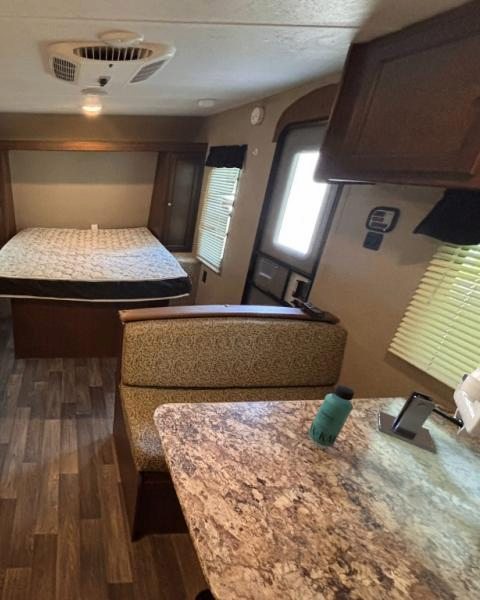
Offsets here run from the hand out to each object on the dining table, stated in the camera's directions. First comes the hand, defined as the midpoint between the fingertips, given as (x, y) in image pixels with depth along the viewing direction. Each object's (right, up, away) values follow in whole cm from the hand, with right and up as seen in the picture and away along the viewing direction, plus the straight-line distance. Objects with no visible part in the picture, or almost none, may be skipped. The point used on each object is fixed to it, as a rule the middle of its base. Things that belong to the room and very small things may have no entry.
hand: (458, 428), depth 91 cm
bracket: (-7, -4, +8) cm, 12 cm away
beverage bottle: (-38, -5, +3) cm, 39 cm away
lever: (-4, +3, +2) cm, 5 cm away
